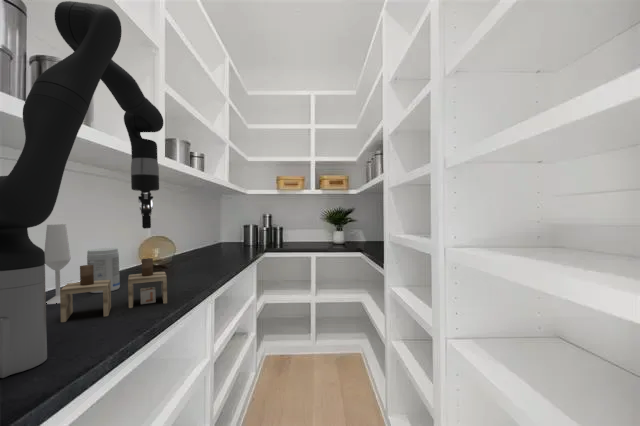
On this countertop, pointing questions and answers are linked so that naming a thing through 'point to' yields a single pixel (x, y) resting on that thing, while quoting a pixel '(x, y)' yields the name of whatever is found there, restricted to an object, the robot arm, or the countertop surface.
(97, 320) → the countertop surface
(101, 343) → the countertop surface
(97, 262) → the supplement tub
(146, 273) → the oak cover
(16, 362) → the robot arm
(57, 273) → the champagne flute
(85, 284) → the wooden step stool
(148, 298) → the letter cube
